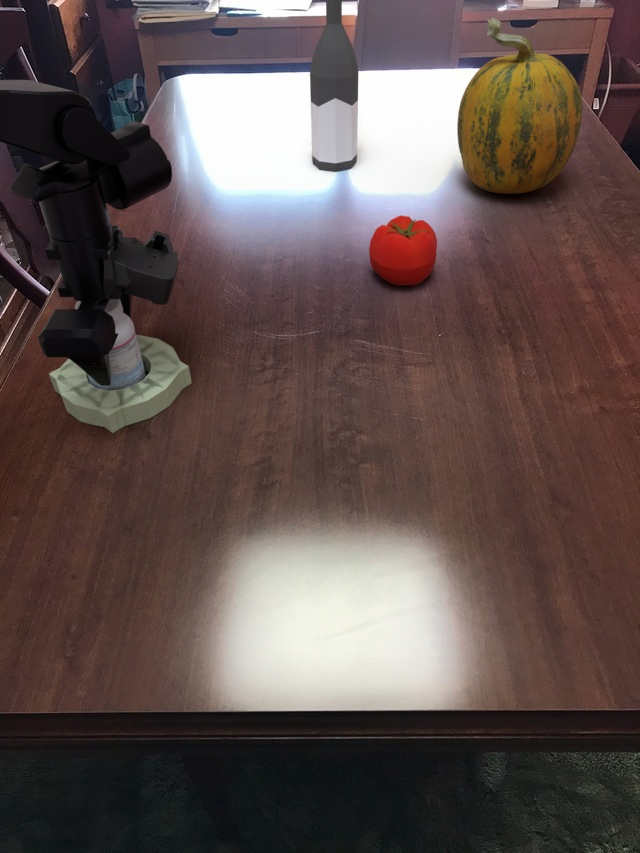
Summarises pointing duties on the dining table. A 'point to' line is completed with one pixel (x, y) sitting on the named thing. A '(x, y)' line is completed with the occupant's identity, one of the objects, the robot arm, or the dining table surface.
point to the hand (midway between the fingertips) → (115, 359)
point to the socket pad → (126, 403)
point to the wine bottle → (334, 95)
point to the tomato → (403, 251)
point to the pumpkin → (518, 118)
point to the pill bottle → (122, 352)
